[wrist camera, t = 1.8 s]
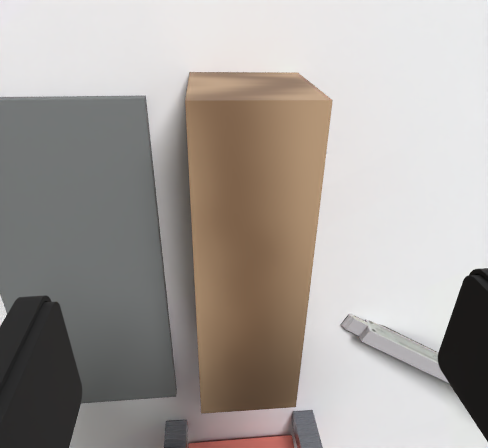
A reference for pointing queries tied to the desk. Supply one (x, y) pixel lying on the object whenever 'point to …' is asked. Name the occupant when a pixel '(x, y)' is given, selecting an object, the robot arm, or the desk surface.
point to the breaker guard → (301, 421)
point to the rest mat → (88, 236)
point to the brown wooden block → (253, 230)
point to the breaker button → (248, 443)
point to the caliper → (395, 345)
